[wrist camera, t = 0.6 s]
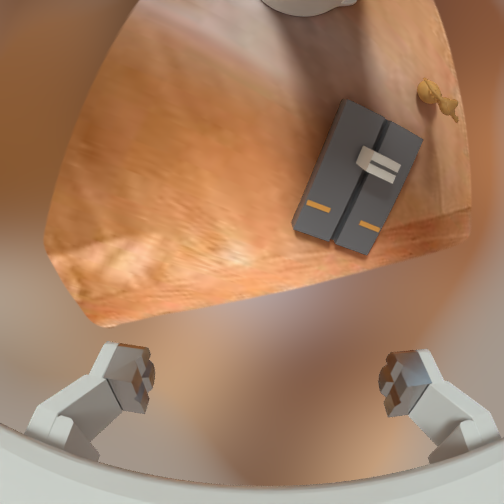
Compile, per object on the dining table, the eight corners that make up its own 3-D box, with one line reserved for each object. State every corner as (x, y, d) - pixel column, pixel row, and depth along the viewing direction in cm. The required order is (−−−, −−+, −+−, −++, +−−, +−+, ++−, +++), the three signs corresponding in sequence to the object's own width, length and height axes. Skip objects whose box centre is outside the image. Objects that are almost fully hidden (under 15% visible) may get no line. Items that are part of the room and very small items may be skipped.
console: (342, 98, 42) (348, 99, 39) (415, 136, 43) (423, 139, 41) (291, 221, 52) (293, 229, 49) (362, 247, 53) (367, 256, 51)
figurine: (444, 102, 40) (486, 109, 29) (425, 124, 42) (465, 136, 32) (413, 66, 38) (452, 62, 27) (393, 89, 40) (429, 90, 30)
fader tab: (359, 143, 43) (374, 151, 37) (384, 155, 44) (401, 165, 38) (352, 161, 44) (366, 171, 39) (376, 172, 45) (392, 184, 39)
